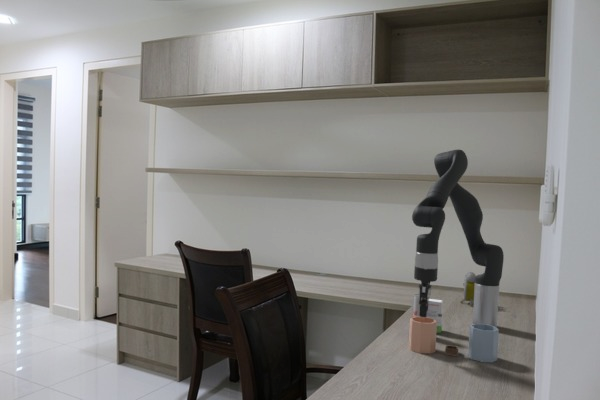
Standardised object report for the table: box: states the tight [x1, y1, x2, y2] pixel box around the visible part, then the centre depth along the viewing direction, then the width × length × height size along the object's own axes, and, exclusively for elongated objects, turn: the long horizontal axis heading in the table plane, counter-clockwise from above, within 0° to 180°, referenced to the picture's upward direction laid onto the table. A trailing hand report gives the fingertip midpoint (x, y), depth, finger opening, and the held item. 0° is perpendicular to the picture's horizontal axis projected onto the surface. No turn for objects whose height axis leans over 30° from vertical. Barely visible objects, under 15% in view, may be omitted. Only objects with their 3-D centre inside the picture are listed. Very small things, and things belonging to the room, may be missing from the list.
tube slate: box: [467, 323, 500, 364], centre depth 160 cm, size 8×8×10 cm
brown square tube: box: [444, 344, 459, 357], centre depth 163 cm, size 4×4×2 cm
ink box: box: [427, 298, 444, 334], centre depth 189 cm, size 9×5×12 cm, turn 67°
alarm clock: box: [460, 271, 477, 307], centre depth 236 cm, size 12×7×15 cm, turn 162°
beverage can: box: [412, 293, 428, 317], centre depth 182 cm, size 5×5×15 cm
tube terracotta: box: [408, 316, 437, 354], centre depth 166 cm, size 8×8×10 cm
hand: (423, 313), depth 166 cm, fingers open, 8 cm apart
